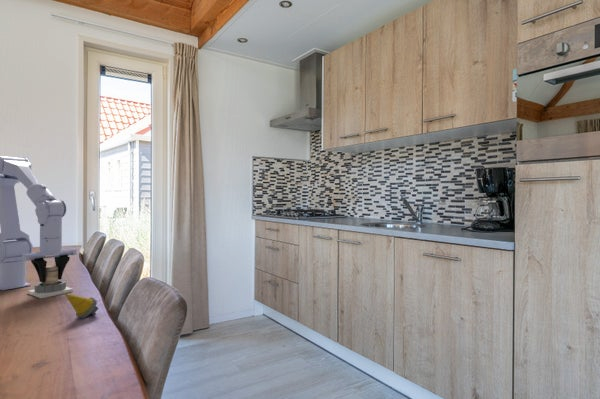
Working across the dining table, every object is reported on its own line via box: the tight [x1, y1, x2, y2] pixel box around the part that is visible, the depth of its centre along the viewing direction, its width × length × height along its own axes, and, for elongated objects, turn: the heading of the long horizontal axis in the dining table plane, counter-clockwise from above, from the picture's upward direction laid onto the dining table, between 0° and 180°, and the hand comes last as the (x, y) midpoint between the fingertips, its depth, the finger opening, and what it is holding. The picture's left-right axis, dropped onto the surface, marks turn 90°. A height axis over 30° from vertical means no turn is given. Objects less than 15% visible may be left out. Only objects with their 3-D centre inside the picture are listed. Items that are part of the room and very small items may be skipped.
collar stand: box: [27, 279, 74, 299], centre depth 114 cm, size 9×9×3 cm
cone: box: [64, 293, 99, 319], centre depth 91 cm, size 5×5×10 cm
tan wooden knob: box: [43, 265, 58, 286], centre depth 114 cm, size 4×4×6 cm
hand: (50, 280), depth 114 cm, fingers closed on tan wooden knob, 4 cm apart
